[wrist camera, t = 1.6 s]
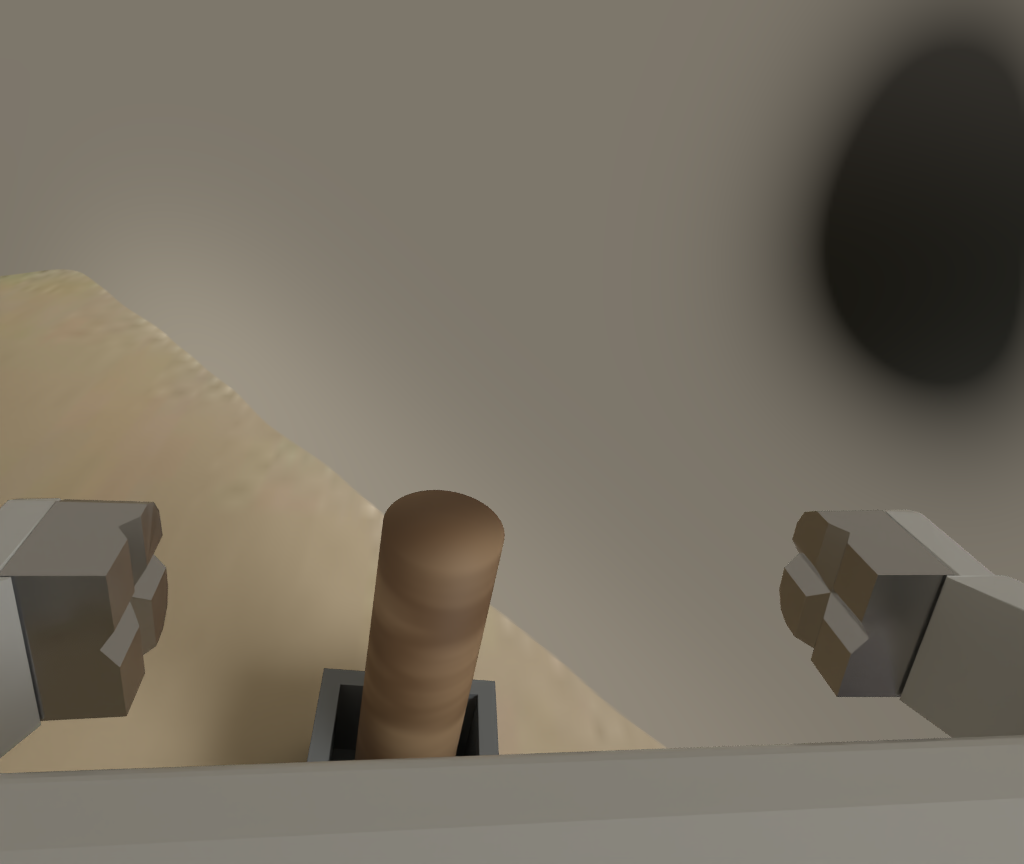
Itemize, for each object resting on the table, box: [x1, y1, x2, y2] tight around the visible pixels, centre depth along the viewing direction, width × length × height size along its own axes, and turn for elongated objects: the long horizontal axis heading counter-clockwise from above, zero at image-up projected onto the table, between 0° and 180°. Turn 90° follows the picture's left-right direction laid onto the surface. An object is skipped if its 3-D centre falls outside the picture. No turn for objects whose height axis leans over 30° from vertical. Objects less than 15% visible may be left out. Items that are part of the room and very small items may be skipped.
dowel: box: [355, 490, 505, 760], centre depth 30 cm, size 4×4×16 cm
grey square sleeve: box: [307, 668, 499, 762], centre depth 33 cm, size 8×8×5 cm
